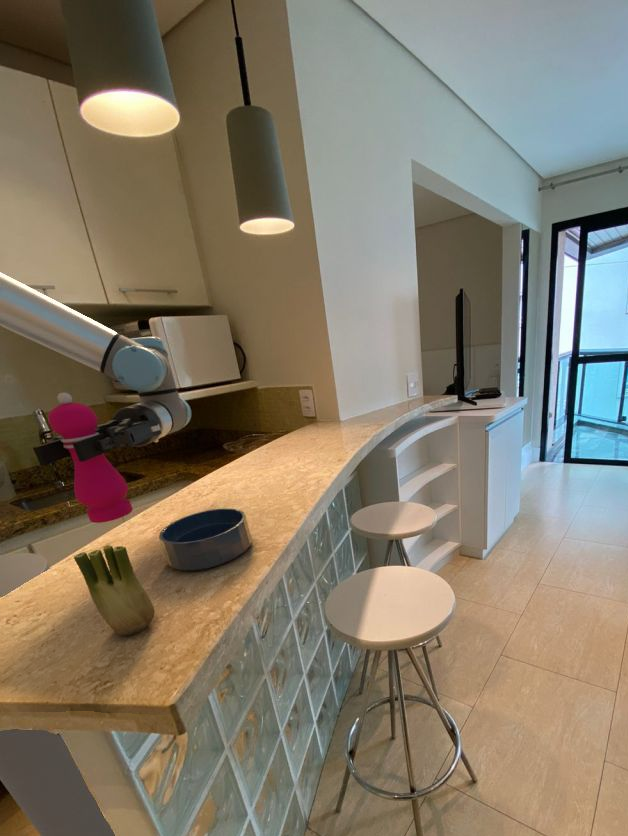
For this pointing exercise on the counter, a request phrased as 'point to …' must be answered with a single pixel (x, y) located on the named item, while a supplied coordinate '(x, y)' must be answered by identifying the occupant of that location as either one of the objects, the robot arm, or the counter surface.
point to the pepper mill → (90, 463)
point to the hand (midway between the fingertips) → (59, 454)
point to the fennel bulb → (116, 589)
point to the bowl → (205, 539)
